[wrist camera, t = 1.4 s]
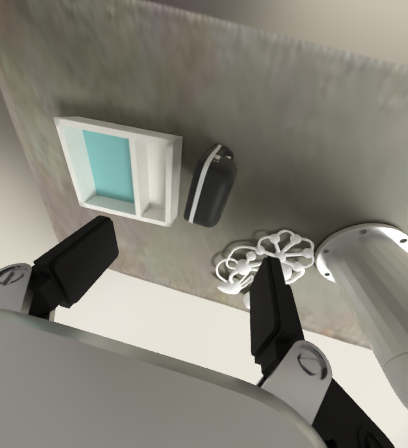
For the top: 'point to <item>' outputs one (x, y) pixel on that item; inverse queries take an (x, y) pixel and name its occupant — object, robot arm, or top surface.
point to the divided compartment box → (123, 168)
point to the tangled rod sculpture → (245, 267)
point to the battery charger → (210, 186)
